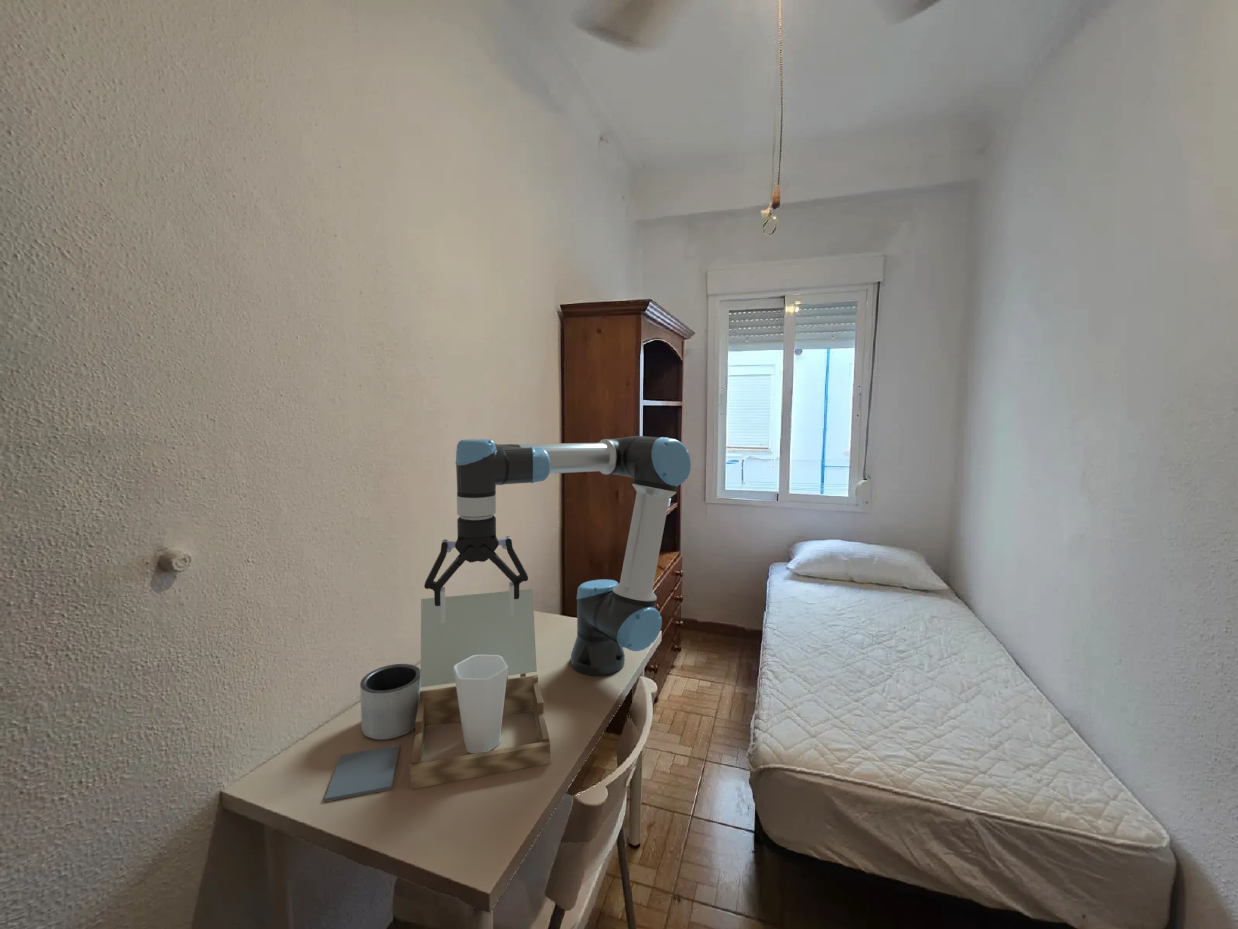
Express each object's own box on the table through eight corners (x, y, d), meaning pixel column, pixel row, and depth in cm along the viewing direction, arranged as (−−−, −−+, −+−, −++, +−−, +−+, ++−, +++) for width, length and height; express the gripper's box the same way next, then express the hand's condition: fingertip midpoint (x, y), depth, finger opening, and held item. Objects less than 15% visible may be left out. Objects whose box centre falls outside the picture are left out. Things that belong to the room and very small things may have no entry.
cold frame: (535, 696, 124) (534, 634, 122) (550, 763, 101) (550, 687, 99) (422, 713, 117) (420, 647, 115) (410, 789, 93) (407, 708, 92)
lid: (536, 671, 118) (536, 671, 119) (532, 589, 123) (532, 589, 125) (420, 687, 111) (421, 686, 112) (421, 599, 116) (421, 599, 117)
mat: (399, 747, 105) (399, 745, 105) (391, 789, 93) (391, 786, 93) (341, 757, 102) (341, 754, 102) (324, 801, 90) (324, 798, 90)
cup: (479, 767, 99) (477, 685, 97) (444, 749, 104) (442, 671, 103) (518, 737, 109) (517, 661, 107) (484, 721, 114) (483, 649, 112)
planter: (434, 720, 114) (433, 673, 113) (382, 750, 104) (380, 699, 103) (402, 702, 121) (400, 657, 120) (350, 728, 111) (348, 680, 110)
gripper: (536, 509, 108) (536, 604, 111) (412, 514, 101) (415, 616, 104) (541, 516, 101) (541, 618, 103) (407, 522, 94) (410, 631, 96)
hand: (478, 617), depth 104 cm, fingers open, 13 cm apart
